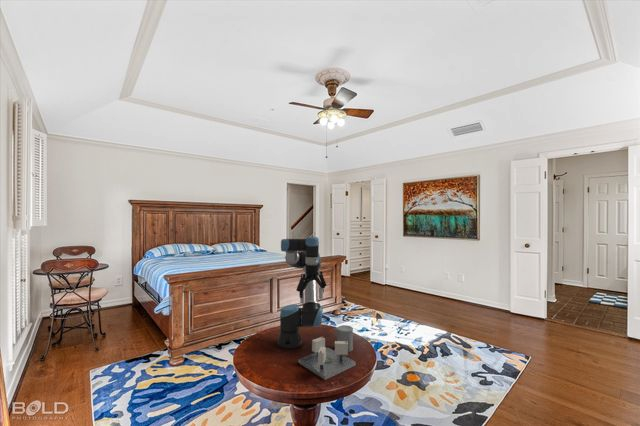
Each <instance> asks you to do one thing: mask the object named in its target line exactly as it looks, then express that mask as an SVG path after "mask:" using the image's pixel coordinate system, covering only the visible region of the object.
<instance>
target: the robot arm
mask: <svg viewBox="0 0 640 426" xmlns="http://www.w3.org/2000/svg"><path fill="white" fill-rule="evenodd" d="M319 245H320V241H319V237H318V236H306V237H305V238H283V239H281V240H280V250H281V252H285V257H284V260H285V262H286V263H287V265H289V266H291V267H292V268H295V269H302V271H303V272H304V273H301V274H300V279H299V282H298V285H297V287H296V291H297V292H299V293H298V294H299V295H298V297H299V301H300V304H302V307H300V306H299V305H298V304H288V305H285V306H283V307H281V309H280V315H279V317H280V319H279V320H280V321H279V323H280V327H279V328H280V329H279V334H278V338H277V342H276V344H277V346H278V347H279V348H281V349H285V350H286V349H288V350H289V349H290V350H291V349H297V348H298V347H300V346H301V345H302V336H301V334H300V328H316V327H317V328H319V327H321V326H322V320H323V309H324V308H323V307H321V304H320V303H319V300H324V289H325V288H326V287H327V283H326V280H325V278H324V275H323V271H321V270H320V269H321V268H322V261H321V256H320V253H319V249H320V248H319V247H320V246H319ZM318 286H319V287H318Z"/></svg>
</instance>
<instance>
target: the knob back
mask: <svg viewBox="0 0 640 426" xmlns="http://www.w3.org/2000/svg"><path fill="white" fill-rule="evenodd" d="M320 347H326V338H324V336H320V337H317V338H315V339H312V340H311V352H313V353H316V352H317V356H318V351H319V349H320Z"/></svg>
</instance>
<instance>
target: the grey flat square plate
mask: <svg viewBox="0 0 640 426" xmlns="http://www.w3.org/2000/svg"><path fill="white" fill-rule="evenodd" d="M297 363H298V364H300V365H301V366H303V367H305V368H306V369H307V370H309V371H311V372H312V373H314V374H315V375H317V376H318V377H320V378H321V379H323V380H325V381H326V380H328V379H330V378H332V377H334V376H337V375H338V374H341V373H343V372H344V371H347V370H348V369H349V370H350V369H351V368H352V367H355V366H356V365H357V364H356V361H355V360H353V359H351V358H349V357H347V355H343V359H342V360H340V359H339V355H336V354H335V349H332V348H330V347H326V360H325V363H324V368H320V365H318V356H317V352H316V353H315V352H313V353H310V354H308V355H306V356H303V357H300V358H298V362H297Z"/></svg>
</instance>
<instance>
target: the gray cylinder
mask: <svg viewBox="0 0 640 426" xmlns="http://www.w3.org/2000/svg"><path fill="white" fill-rule="evenodd" d="M336 328H337V329H336V332H337V334H336V335H337V336H336V337H337V338H336V340H337V341H348V353H350V352H351V351H353V349H354V348H353V347H354V342H353V341H354V328H353V327H352V326H351V325H345V324H343V325H342V324H341V325H339V326H337V327H336Z"/></svg>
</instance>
